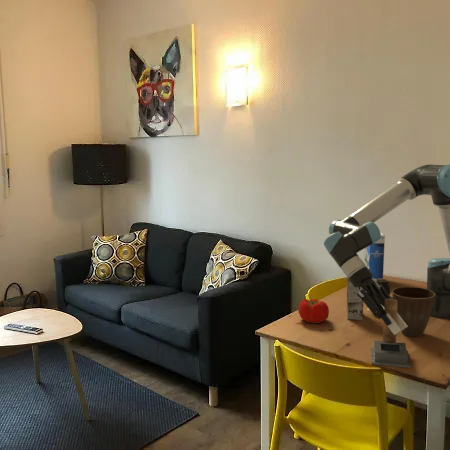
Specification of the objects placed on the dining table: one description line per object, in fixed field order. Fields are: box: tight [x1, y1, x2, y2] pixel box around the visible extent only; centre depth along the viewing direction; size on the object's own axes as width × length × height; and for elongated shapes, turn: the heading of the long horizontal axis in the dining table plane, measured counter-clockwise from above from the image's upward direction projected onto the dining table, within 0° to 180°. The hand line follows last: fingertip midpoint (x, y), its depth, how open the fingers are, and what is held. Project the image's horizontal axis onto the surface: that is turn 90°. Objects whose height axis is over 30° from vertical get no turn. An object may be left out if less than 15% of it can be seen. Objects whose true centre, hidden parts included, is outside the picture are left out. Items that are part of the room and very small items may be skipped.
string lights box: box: [364, 231, 386, 282], centre depth 255 cm, size 13×8×26 cm, turn 174°
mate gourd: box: [374, 276, 392, 296], centre depth 230 cm, size 7×8×10 cm
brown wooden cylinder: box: [382, 298, 398, 344], centre depth 162 cm, size 4×4×14 cm
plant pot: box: [391, 286, 435, 338], centre depth 184 cm, size 15×15×16 cm
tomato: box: [297, 298, 330, 324], centre depth 200 cm, size 13×12×8 cm
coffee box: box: [346, 276, 364, 321], centre depth 204 cm, size 9×6×16 cm
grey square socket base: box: [370, 340, 412, 369], centre depth 164 cm, size 12×12×4 cm
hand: (401, 330), depth 160 cm, fingers closed on brown wooden cylinder, 4 cm apart
